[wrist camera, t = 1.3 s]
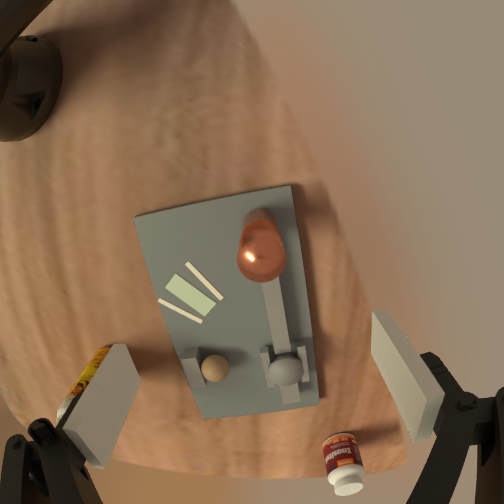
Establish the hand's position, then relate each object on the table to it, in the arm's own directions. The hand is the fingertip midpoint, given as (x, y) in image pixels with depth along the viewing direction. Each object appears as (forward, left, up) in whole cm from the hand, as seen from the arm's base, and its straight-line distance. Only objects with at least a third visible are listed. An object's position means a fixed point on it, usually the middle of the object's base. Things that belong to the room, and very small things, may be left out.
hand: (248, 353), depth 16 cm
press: (+11, -4, -22) cm, 25 cm away
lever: (+10, +1, -20) cm, 23 cm away
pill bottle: (+40, +8, -22) cm, 46 cm away
